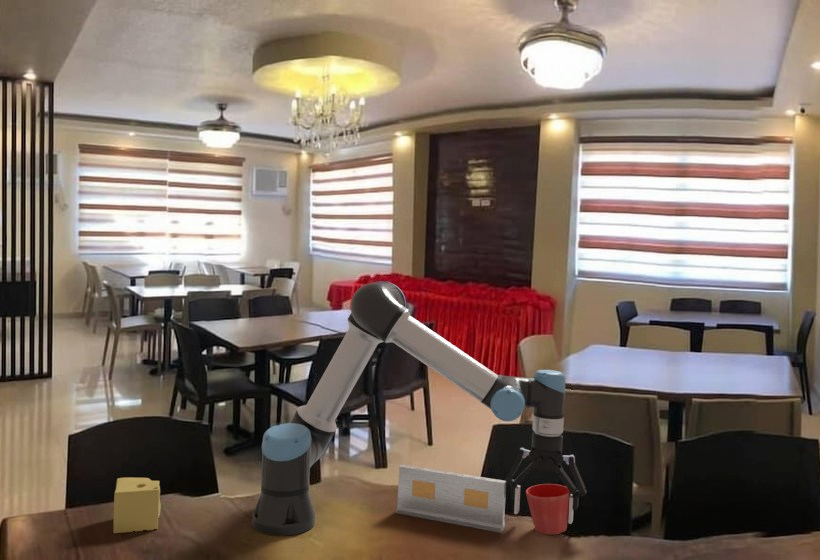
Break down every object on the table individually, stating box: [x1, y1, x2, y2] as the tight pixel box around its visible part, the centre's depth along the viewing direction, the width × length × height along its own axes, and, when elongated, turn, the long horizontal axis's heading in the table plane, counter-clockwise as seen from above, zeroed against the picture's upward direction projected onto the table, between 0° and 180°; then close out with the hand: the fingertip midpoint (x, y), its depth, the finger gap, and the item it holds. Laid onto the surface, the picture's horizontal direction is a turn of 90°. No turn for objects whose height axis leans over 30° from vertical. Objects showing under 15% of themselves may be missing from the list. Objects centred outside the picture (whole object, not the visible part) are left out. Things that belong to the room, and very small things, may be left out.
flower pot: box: [525, 483, 571, 535], centre depth 169 cm, size 11×11×10 cm
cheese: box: [113, 477, 162, 534], centre depth 163 cm, size 10×11×10 cm
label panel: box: [395, 464, 507, 533], centre depth 173 cm, size 28×4×12 cm, turn 69°
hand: (543, 517), depth 170 cm, fingers open, 13 cm apart
